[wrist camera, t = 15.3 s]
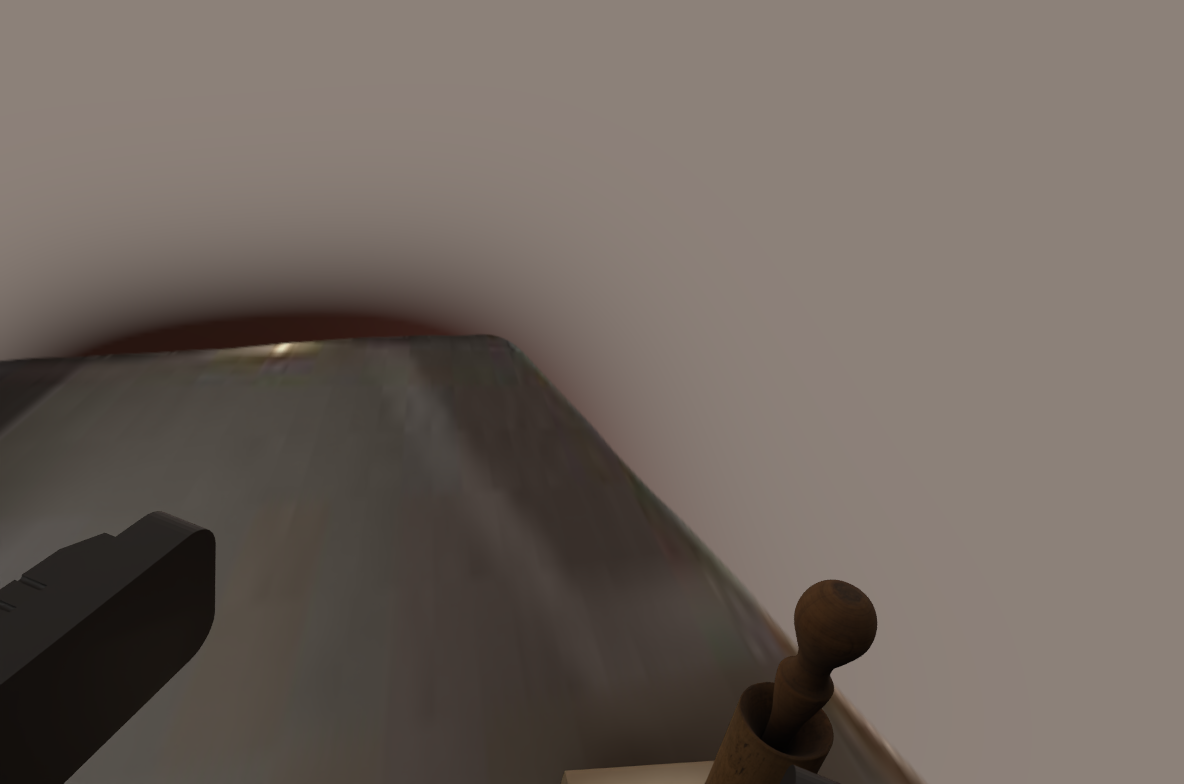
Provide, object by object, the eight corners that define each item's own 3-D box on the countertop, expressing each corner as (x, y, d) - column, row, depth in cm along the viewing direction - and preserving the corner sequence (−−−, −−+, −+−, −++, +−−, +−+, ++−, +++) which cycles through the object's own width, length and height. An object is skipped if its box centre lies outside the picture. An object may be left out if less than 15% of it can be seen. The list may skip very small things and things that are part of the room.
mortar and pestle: (625, 822, 41) (734, 536, 32) (740, 804, 43) (869, 533, 35) (675, 968, 35) (821, 669, 27) (803, 938, 38) (974, 655, 29)
